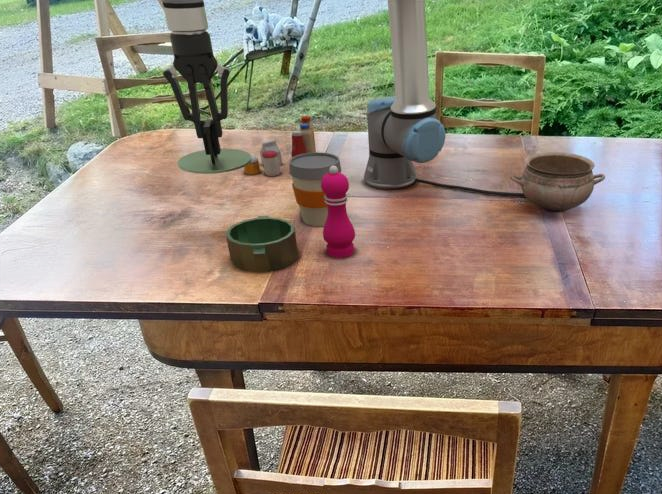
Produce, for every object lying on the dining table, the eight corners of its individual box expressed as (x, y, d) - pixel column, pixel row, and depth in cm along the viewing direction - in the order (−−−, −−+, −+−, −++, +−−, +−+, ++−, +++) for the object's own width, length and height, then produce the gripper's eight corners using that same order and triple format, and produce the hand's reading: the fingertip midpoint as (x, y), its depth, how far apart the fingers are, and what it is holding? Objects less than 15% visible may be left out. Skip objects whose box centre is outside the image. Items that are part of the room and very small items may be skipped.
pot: (297, 236, 146) (294, 211, 142) (297, 275, 130) (294, 247, 126) (235, 240, 143) (230, 214, 140) (227, 280, 127) (221, 252, 124)
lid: (253, 152, 141) (247, 112, 136) (250, 174, 129) (243, 131, 124) (184, 155, 139) (174, 114, 133) (173, 178, 126) (163, 135, 121)
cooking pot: (513, 223, 154) (518, 175, 146) (502, 195, 169) (505, 151, 162) (609, 221, 155) (619, 174, 148) (589, 194, 170) (597, 150, 163)
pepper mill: (331, 261, 135) (322, 173, 123) (320, 248, 140) (311, 163, 128) (361, 255, 138) (355, 168, 126) (349, 243, 143) (343, 158, 131)
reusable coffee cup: (286, 224, 151) (277, 164, 142) (310, 206, 161) (304, 149, 152) (330, 232, 148) (325, 171, 139) (353, 213, 157) (349, 155, 149)
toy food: (309, 151, 198) (305, 113, 191) (334, 161, 191) (330, 121, 184) (238, 170, 183) (230, 129, 176) (261, 181, 176) (254, 139, 169)
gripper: (228, 28, 122) (248, 146, 136) (153, 29, 120) (181, 149, 134) (225, 33, 117) (246, 156, 130) (146, 35, 114) (176, 159, 128)
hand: (213, 152), depth 132 cm, fingers closed on lid, 1 cm apart
